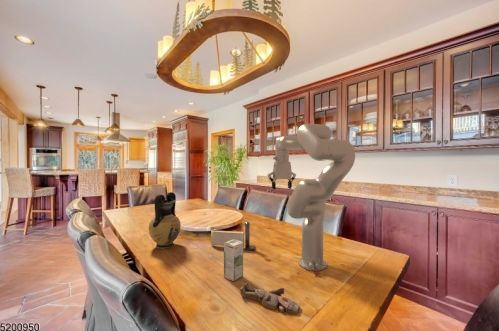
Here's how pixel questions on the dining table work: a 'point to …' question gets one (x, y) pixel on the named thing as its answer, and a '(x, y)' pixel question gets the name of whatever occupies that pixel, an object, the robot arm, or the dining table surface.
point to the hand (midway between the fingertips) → (281, 188)
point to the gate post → (248, 238)
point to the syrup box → (233, 259)
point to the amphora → (164, 221)
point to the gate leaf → (226, 237)
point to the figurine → (271, 299)
